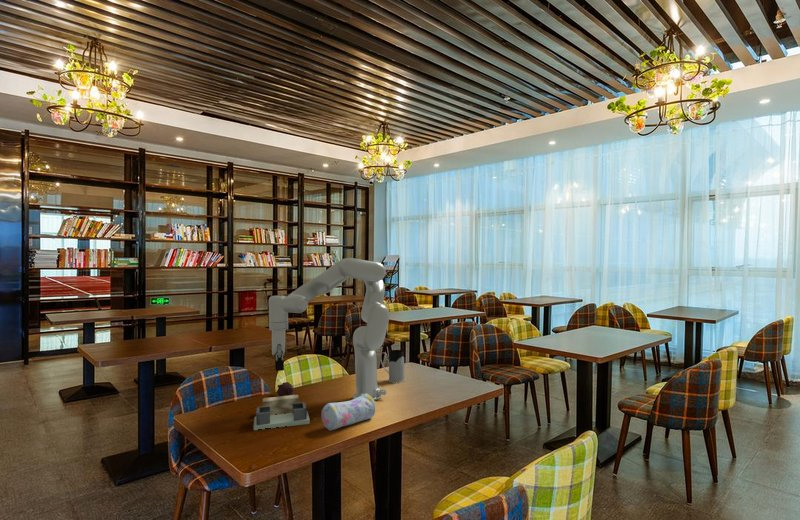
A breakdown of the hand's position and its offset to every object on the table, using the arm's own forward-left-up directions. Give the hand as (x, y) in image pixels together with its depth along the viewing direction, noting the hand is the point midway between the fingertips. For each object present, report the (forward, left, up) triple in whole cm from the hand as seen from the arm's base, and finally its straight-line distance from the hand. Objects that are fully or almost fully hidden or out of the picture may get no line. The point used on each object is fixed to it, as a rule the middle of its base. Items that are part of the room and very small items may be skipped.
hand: (279, 368), depth 188 cm
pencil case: (-33, +8, -18) cm, 39 cm away
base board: (-7, +11, -18) cm, 22 cm away
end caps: (-7, +11, -16) cm, 21 cm away
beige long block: (0, 0, -18) cm, 18 cm away
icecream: (+9, -21, -18) cm, 29 cm away
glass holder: (-32, -57, -18) cm, 67 cm away
